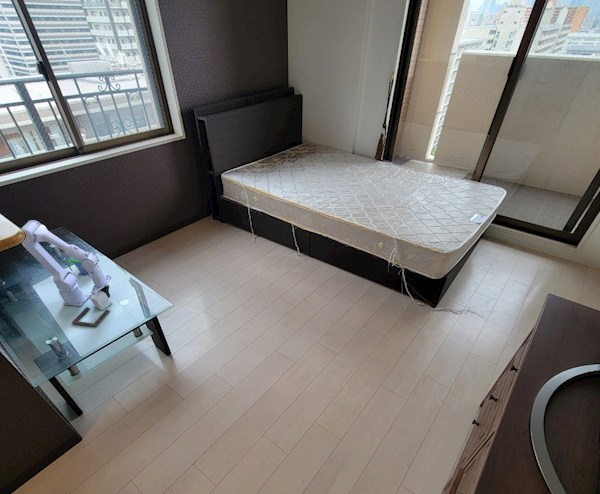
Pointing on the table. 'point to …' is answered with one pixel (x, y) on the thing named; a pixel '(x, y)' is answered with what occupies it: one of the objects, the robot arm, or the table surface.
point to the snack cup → (78, 266)
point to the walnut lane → (76, 321)
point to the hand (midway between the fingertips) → (107, 297)
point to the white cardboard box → (100, 300)
